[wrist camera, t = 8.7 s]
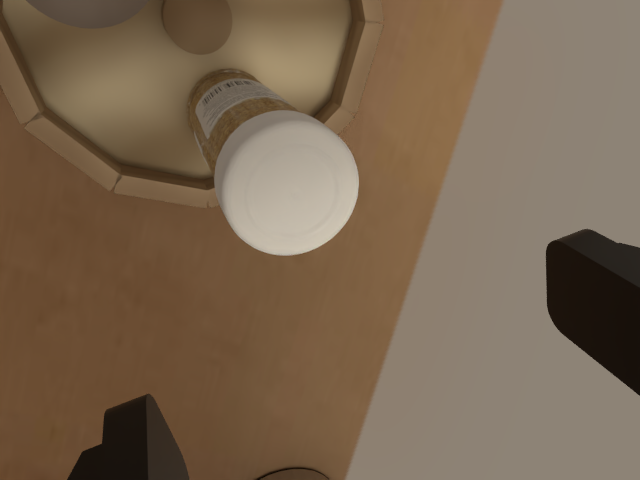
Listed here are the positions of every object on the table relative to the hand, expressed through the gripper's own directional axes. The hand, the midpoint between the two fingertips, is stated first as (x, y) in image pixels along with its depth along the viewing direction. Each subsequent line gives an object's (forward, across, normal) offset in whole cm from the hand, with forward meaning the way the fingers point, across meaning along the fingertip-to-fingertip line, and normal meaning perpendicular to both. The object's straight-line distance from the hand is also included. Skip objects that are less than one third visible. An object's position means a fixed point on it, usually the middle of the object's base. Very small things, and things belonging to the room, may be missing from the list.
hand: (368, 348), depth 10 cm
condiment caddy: (+22, 0, -5) cm, 23 cm away
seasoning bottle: (+21, -1, 0) cm, 21 cm away
